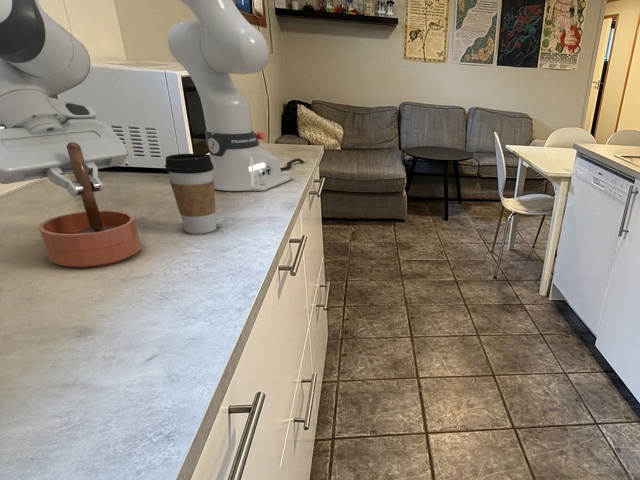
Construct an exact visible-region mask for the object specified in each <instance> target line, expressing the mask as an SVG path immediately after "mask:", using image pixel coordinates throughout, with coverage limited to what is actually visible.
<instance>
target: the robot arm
mask: <svg viewBox="0 0 640 480" xmlns="http://www.w3.org/2000/svg"><path fill="white" fill-rule="evenodd" d="M179 1H180V2H181V3H182V4H183V5H184V6H186V7H187V8H188V9H189V10H190V11H191V12H192V13H193V14H194V16H195V17H196V18H197V20H196V19H195V20H194V19H190V20H185V21H181V22H178V23H175V24H173V25H171V27H170V28H169V30H168V33H167V46H168V49H169V51H170V53H171V55H172V57H173V58H174V59H175V61H176V62H178V63H179V64H180V65H181V66H182V67H183V69H185V71H186V72H187V74H188V75H189V77H190V79H191V80H192V83H193V84H194V86H195V89H196V91H197V94H198V96H199V98H200V102H201V107H202V108H201V109H202V112H203V118H204V123H205V124H204V125H205V129H206V130H205V131H204V135H205V142H206V146H207V149H208V153H209V154H208V155H210V159H211V162H212V164H213V168H214V169H213V170H212V178H213V179H214V190H218V191H225V192H226V191H227V192H246V191H253V192H254V191H255V192H256V191H257V192H259V191H260V192H261V191H266V190H269V189H271V188H273V187H276V186H279V185H281V184H283V183H284V184H285V183H286V182H288V181H291V176H290V175H289V174H286V173H282V171H287V170H288V169H291V168H292V164H294V163H296V162H300V163H301V164H305V161H304V160H303V159H302V158H294V159H291V160H289V161H288V162H287V163H286V165H285V166H282V167H281V163H280V161H279V158H277V157H276V156H275V155H273V154H272V153H271V152H269V151H268V150H267V149H265V148H264V147H263V146H261V145H260V142H259V140H261V141H265V140H266V133H265V132H263V131H261V132H260V131H256V132H255V131H254V130H253V122H252V115H251V114H252V113H251V107H250V102H249V99H248V97H247V96H246V95H245V94H244V93H243V92H241V90H239V89H238V88H237V86H236V85H235V84H234V81H233V79H232V77H231V74H233V75H250V74H256V73H260V72H262V71H264V69H265V68H266V67H267V65H268V61H269V57H270V56H269V54H270V51H269V46H268V43H267V41H266V38H265V37H264V35H263V33H262V32H261V31H260V30H259V29H257V28H256V27H254V26H253V25H252V24H251V23H249V21H248V20H247V19H246V18H245V16H244V15H243V14H242V13H241V11H240V10H239V8H238V6H236V4H235V3H234V1H233V0H179ZM90 69H91V58H90V54H89V51H88V49H87V48H86V46H85V45H84V44H83V43H82V42H81V41H80V40H78V39H77V38H76V37H75V36H74V35H73V34H71V33H70V32H69V31H68V30H67V29H65V27H63V26H62V25H61V24H59V23H58V22H57V21H56V20H55V19H53V18H52V17H51V16H50V15H49V14H47V13H46V12H45V11H44V9H43V7H42V6H41V4H40V2H39V0H0V185H8V184H14V183H20V182H26V181H33V180H40V179H45V178H47V179H48V180H49V181H50V182H51V183H53V184H55V185H57V186H58V187H61V188H62V189H65V190H66V191H67V192H68V193H69V195H70V196H71V197H77V196H81V194H83V192H84V188H83V186H81V185H80V183H79V182H78V181H76V180H72V179H70V178H68V177H67V176H64V175H69V174H70V175H71V174H74V171H73V167H72V164H71V161H70V157H69V154H68V151H67V145H68V143H71V142H74V143H77V144H78V145H79V146H80V147H81V151H82V154H83V158H84V161H85V165H86V168H87V172H88V175H89V179H90V182H91V186H92V189H93V193H95V192H96V193H97V192H101V191H103V189H104V186H105V185H104V183H103V182H102V181H101V179H100V178H99V170H100V169H107V168H112V167H119V166H122V165H123V164H124V163H125V161H126V159H127V158H128V154H129V150H128V148H127V146H126V145H125V143H124V142H123V141H122V139H121V138H120V137H119V136H118V135H117V134H116V132H114V131H113V129H111V127H110V126H109V125H107V123H105V122H103V121H102V120H100V119H96V118H97V113H96V111H95V110H94V109H93V107H91V106H89V105H85V104H79V103H74V102H68V101H65V100H62V99H58V98H54V96H58V95H60V94H63V93H65V92H67V91H69V90H71V89H73V88H76V87H78V86H79V85H81V84H82V83H83V82H84V81H85V80H86V79H87V77H88V76H89V73H90Z"/></svg>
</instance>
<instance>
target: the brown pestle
mask: <svg viewBox="0 0 640 480" xmlns="http://www.w3.org/2000/svg"><path fill="white" fill-rule="evenodd" d="M67 151H68V154H69V157H70V161H71V164H72V167H73V171H74V173H73V174H74V177H75V181H78V182H79V183H80V185H81V186H83V188H84V192H83V194H81V195H80V198H81V200H82V204H83V207H84V212H85V211H86V214H87V218H88V221H89V224H90V227H88V228H85V229H83V230H81V231H80V234H82V233H93V232H99V231H105V230H109V229H113V228H115V227H113V226H104V225H103V224H102V221H101V217H100V214H99V211H100V210H99V208H98V207H99V206H98V203H97V200H96V197H95V192H93V189H92V186H91V182H90V179H89V178H90V175H88V172H87V168H86V165H85V161H84V158H83V154H82V151H81V147H80V146H79V145H78V144H77V143H74V142H71V143H68V145H67Z"/></svg>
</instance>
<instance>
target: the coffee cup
mask: <svg viewBox="0 0 640 480" xmlns="http://www.w3.org/2000/svg"><path fill="white" fill-rule="evenodd" d="M164 167H165V171H166V172H168V175H169V179H170V180H169V183H170V186H171V190H172V193H173V195H174V199H175V202H176V205H177V208H178V212H179V215H180V218H181V222H182V225H183V230H184V232H186V233H189V234H194V235H196V234H197V235H198V234H208V233H212V232H214V231H216V230H217V215H216V196H215V189H214V179H213V178H212V170H213V169H214V168H213V164H212V162H211V159H210V154H207V153H177V154H171V155H167V156H166V157H165V164H164Z"/></svg>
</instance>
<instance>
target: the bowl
mask: <svg viewBox="0 0 640 480" xmlns="http://www.w3.org/2000/svg"><path fill="white" fill-rule="evenodd" d="M99 214H100V217H101V221H102V224H103V225H104V226H113V227H115V228H113V229H109V230H105V231H99V232H93V233H82V234H80V231H81V230H83V229H85V228H88V227H90V224H89V221H88V218H87V214H86V211H85V210H84V211H78V212H71V213H67V214H62V215H57V216H54V217H52V218H48V219H46V220H44V221H43V222H40V224H38V225H39V226H38V227H37V229H38V231H39V235H40V237H41V241H42V243H43V246H44V250H45V252H46V255H47V259H49V261H50V262H52V263H53V264H56V265H59V266H65V267H70V268H93V267H102V266H107V265H112V264H116V263H118V262H119V263H120V262H121V261H125V260H127V259H129V258H130V257H132V256H134V255H135V254H137V253H139V251H140V250H141V248H142V247H141V246H142V243H141V241H140V236H139V232H138V228H137V224H136V218H135V217H134V216H133V215H132V214H131V213H128V212H125V211H119V210H99Z"/></svg>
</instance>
